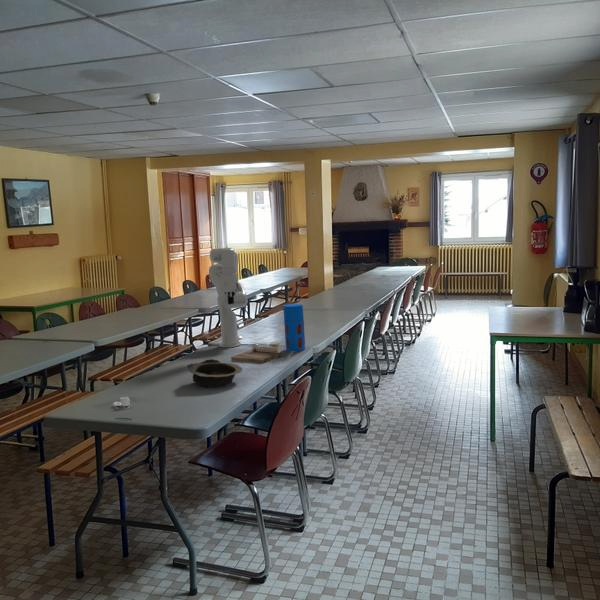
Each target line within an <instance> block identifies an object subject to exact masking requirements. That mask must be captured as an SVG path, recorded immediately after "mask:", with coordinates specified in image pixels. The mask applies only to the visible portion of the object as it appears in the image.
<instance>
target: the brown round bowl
mask: <svg viewBox="0 0 600 600" xmlns="http://www.w3.org/2000/svg"><path fill="white" fill-rule="evenodd" d="M187 369H188V372H189V373H191V374H192V381H193V382H194V383H197V384H198V385H199V386H200V387H203V388H215V387H225V386H227V385H229V384H231V383H232V382H233V379H234V378H235V377H236V375H239V374H240V373H242V371H243V367H241V366H239V365H238V364H235V363H231V362H221V361H219V360H217V359H211V358H210V359H206V360H204V361H201V362H200V363H190V364H187Z"/></svg>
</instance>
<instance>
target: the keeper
mask: <svg viewBox="0 0 600 600" xmlns="http://www.w3.org/2000/svg"><path fill="white" fill-rule="evenodd" d="M268 344H269V345H268V346H275V347H280V343H273V342H272V343H268Z"/></svg>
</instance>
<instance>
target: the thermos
mask: <svg viewBox="0 0 600 600" xmlns="http://www.w3.org/2000/svg"><path fill="white" fill-rule="evenodd" d="M304 319H305V318H304V306H303V303H288V304H284V305H283V323H284V336H285V337H284V340H285V341H284V342H285V351H287V352H294V353H295V352H301V351H305V350H306V339H305V322H304V321H305V320H304Z"/></svg>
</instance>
